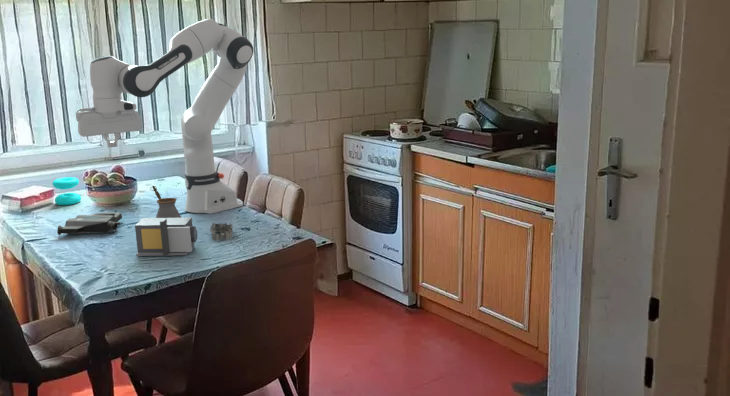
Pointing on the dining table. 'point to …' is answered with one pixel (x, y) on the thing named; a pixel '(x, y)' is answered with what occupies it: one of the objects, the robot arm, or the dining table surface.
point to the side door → (175, 238)
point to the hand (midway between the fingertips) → (112, 146)
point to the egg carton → (221, 231)
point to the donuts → (66, 197)
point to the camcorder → (91, 223)
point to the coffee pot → (166, 206)
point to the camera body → (159, 235)
